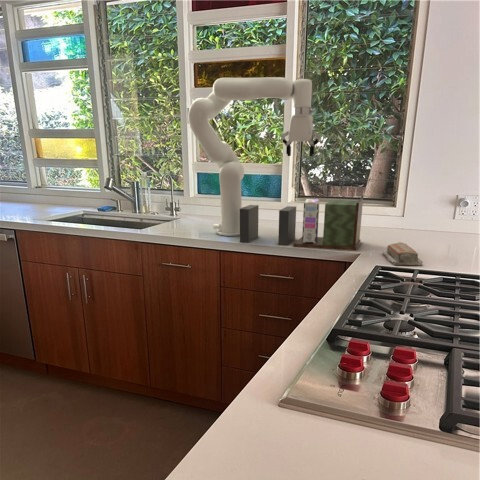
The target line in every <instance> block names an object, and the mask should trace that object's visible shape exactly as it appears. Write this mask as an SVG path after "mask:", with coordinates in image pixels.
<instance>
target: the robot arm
mask: <svg viewBox="0 0 480 480" xmlns="http://www.w3.org/2000/svg"><path fill="white" fill-rule="evenodd" d="M312 92H313V82H312V80H311V79H309V78H299V79H298V78H297V79H296V80H290V79H289V78H287V77H284V76H283V77H281V76H278V77H277V76H266V77H264V76H263V77H261V76H260V77H220V78H217V79H216V80H215V81H214V83H213V85H212V91H211V93H209V95H208V96H206V97H199V98H196V99H195V100H193V102H192V103H191V104H190V106H189V109H188V113H187V120H188V125H189V128H190V130H191V132H192V133H193V136H194V137H195V138H196V140H197V141H198V143H199V145H200V146H201V148H202V150H203V152H204V153H205V154H206V156H207V158H208V159H209V161H210V162H211V163H213V164H216V165H217V167H218V168H219V173H218V177H219V178H218V179H219V180H218V181H219V189H220V190H219V191H220V192H219V193H220V223H219V224H217V223H215V224H213V229H214V230H218V231H217V235H219V236H225V237H237V236H239V237H240V209H241V208H243V206H242V180H243V178H244V177H245V168H244V166H243V164H242V162H241V161H240V160H239V157H238V156H237V155H236V154H235V151H234V150H233V148H232V147H231V146H230V145H229V144H228V143H227V142H226V141H223V140H222V139H221V138H220V136H219V135H218V134H217V133H216V131H215V129H214V127H213V126H212V125H211V123H210V121H212V120H213V119H215V118H216V117H217V116H218V115H219V114H220V113H221V112H222V111H224V109H225V108H226V107H227V106H228V105H229V104H230V103H231V102H232V101H254V100H257V99H258V100H259V99H279V100H281V101H288V100H292V115H290V120H289V124H288V125H289V126H288V131H286V132H284V133H282V134H281V135H280V138H281V140H282V143H283V144H284V145H285V146H286V149H285V150H286V151H285V153H286V156H287V157H291V155H292V146H291V145H292V143H293V142H308V143H309V144H310V146H309V157H313V155H314V154H315V146H316V145H317V144H318V143H319V142H320V140H321V138H322V134H320V133H318V132H317V131H315V130H314V117H313V115H312V114H314V113H315V109H314V108H312V95H313V93H312ZM287 136H288V138H287V139H288V140H287V139H286V137H287ZM314 136H315V137H316V139H315V140H314Z"/></svg>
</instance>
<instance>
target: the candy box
mask: <svg viewBox="0 0 480 480" xmlns="http://www.w3.org/2000/svg"><path fill="white" fill-rule="evenodd" d="M302 213H303V214H302V215H303V216H302V235H301V237H302V243H316V241H317V237H319V236H318V235H319V234H318V233H319V215H320V199H319V198H306V199H305V201H304V202H303V212H302Z"/></svg>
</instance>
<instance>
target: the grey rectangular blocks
mask: <svg viewBox="0 0 480 480" xmlns="http://www.w3.org/2000/svg"><path fill="white" fill-rule="evenodd" d="M259 207H260V206H259V204H249V205H246V206H242V208H241V209H240V235H239V243H246V244H247V243H248V244H249V243H250V242H252V241H254V240H256V239H257V238H259ZM296 221H297V206H294V205H293V206H291V205H289V206H285V207H283V208H282V209H279V210H278V236H277V237H278V238H277V241H278V243H277V245H279V246H288V245H290V244H291V243H292V242H293V241H294V240H296V228H297V227H296V226H297V222H296Z"/></svg>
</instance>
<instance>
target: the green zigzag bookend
mask: <svg viewBox="0 0 480 480" xmlns="http://www.w3.org/2000/svg"><path fill="white" fill-rule="evenodd" d="M363 205H364V198H363V197H360V198H359V199H358V200H341V199H330V200H329V201H327V202H326V203H325V204H324V219H323V234H322V236H318V237H317V241H316V243H302V236H300V237H299V238H298V239H297V240H296V241H295V242H294V243H293V247H297V248H309V249H310V248H313V249H325V250H341V251H357V250H358V247H359V246H360V244H361V241H362V240H361V239H360V238H361V227H362V216H363Z"/></svg>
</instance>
